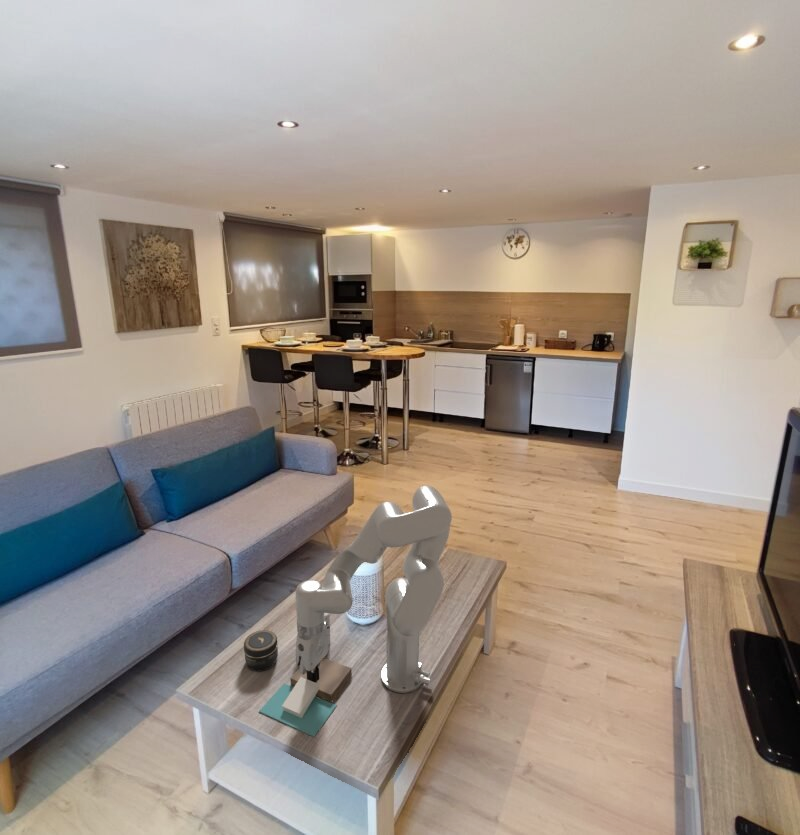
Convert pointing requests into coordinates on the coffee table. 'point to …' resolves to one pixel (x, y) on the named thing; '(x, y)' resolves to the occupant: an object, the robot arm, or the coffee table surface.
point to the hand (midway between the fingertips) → (313, 679)
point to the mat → (306, 724)
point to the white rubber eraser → (300, 697)
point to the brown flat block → (327, 678)
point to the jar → (261, 650)
